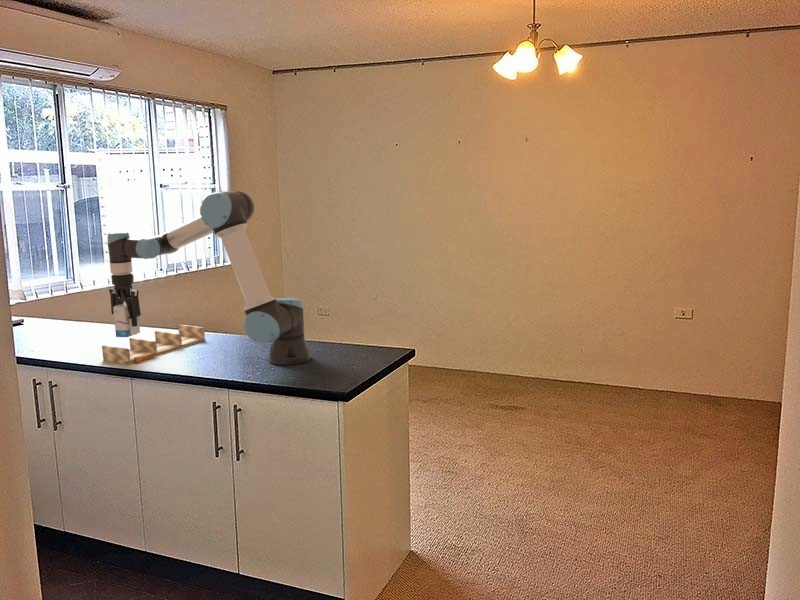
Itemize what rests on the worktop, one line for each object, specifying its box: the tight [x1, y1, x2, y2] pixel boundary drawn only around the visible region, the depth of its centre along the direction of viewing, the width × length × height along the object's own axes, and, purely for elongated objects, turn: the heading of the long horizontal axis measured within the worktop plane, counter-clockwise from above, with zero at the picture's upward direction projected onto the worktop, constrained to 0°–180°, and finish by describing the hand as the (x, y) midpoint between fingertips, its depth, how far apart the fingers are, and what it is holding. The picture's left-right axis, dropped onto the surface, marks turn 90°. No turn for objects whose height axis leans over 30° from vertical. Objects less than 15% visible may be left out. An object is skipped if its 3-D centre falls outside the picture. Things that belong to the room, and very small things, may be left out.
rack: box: [101, 324, 206, 366], centre depth 267 cm, size 16×38×6 cm, turn 151°
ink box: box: [113, 302, 141, 338], centre depth 255 cm, size 9×5×12 cm, turn 167°
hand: (128, 333), depth 256 cm, fingers closed on ink box, 6 cm apart
